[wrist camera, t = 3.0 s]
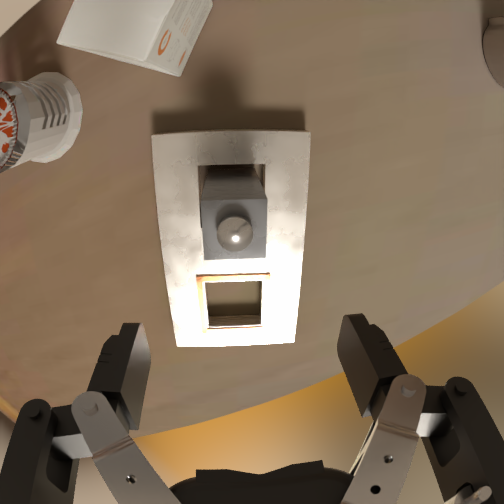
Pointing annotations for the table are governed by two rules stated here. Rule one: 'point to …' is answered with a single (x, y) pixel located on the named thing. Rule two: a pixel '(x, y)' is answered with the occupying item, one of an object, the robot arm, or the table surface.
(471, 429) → the robot arm
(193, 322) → the rail plate
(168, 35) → the small box
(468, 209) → the table surface
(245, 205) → the block with round knob
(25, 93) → the french press
